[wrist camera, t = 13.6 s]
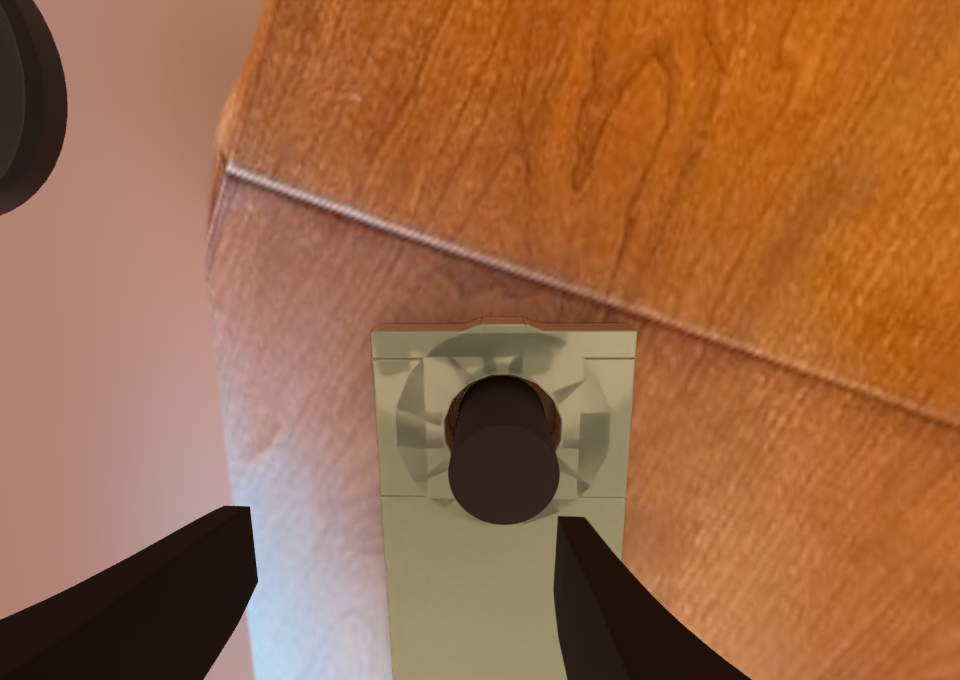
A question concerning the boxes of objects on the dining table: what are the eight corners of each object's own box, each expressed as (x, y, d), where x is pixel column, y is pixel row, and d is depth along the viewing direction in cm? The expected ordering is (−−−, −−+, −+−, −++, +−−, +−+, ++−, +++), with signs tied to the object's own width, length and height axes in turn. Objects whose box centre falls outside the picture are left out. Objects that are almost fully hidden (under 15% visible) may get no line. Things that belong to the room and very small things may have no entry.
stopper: (442, 423, 20) (426, 485, 16) (493, 358, 20) (493, 402, 15) (508, 470, 21) (513, 545, 16) (561, 408, 20) (583, 467, 15)
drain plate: (378, 316, 19) (369, 324, 18) (627, 315, 19) (638, 323, 18) (402, 712, 24) (396, 743, 23) (602, 715, 24) (609, 748, 22)
